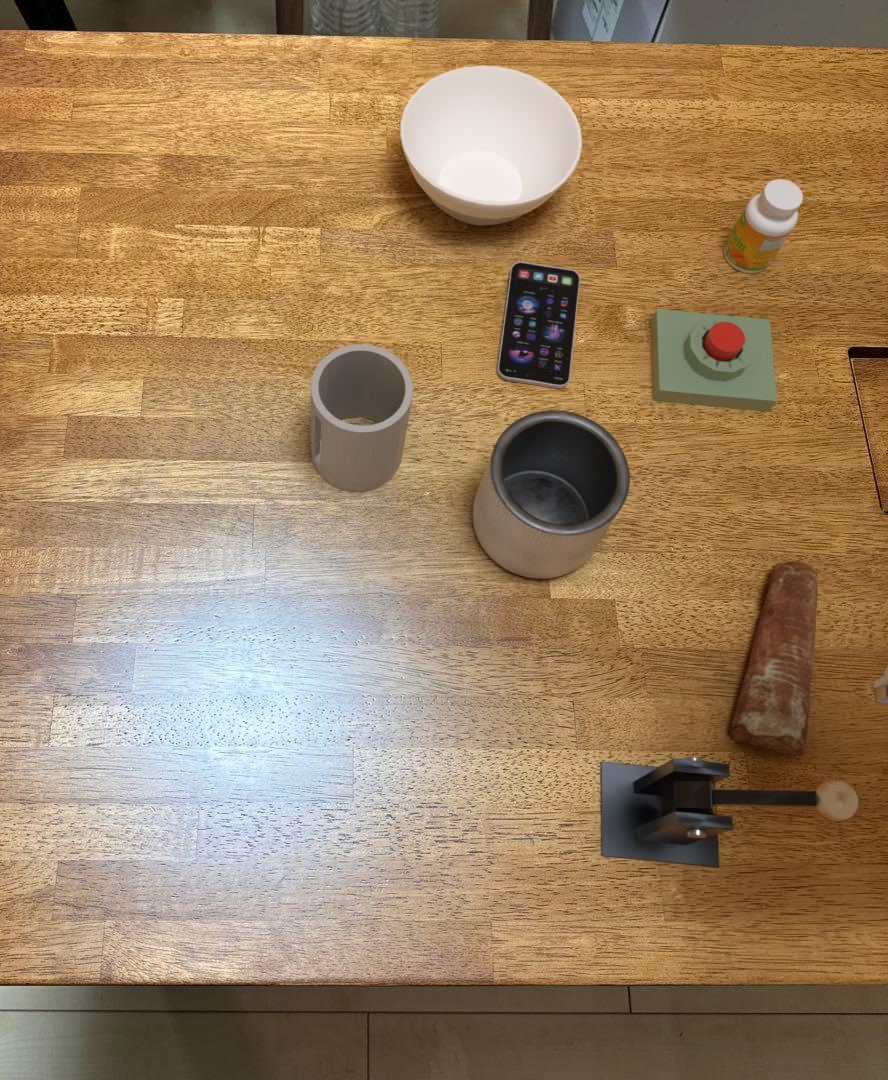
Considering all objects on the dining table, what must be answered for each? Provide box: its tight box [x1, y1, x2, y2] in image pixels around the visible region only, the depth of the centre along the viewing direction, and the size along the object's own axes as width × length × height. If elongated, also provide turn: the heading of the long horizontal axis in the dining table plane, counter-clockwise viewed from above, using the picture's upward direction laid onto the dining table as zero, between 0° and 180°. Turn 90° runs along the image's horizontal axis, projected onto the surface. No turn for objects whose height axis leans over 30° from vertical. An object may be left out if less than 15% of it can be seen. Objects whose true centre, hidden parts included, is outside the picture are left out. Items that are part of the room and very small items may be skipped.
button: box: [704, 322, 745, 361], centre depth 103 cm, size 4×4×2 cm
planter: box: [472, 409, 631, 580], centre depth 94 cm, size 12×13×11 cm
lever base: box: [599, 756, 734, 868], centre depth 83 cm, size 10×8×12 cm
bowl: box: [399, 65, 583, 227], centre depth 112 cm, size 19×19×8 cm
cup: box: [310, 343, 414, 493], centre depth 96 cm, size 9×9×12 cm
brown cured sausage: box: [729, 560, 819, 757], centre depth 92 cm, size 6×19×6 cm, turn 159°
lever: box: [674, 778, 859, 822], centre depth 78 cm, size 13×3×3 cm, turn 85°
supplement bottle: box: [723, 178, 804, 274], centre depth 109 cm, size 5×5×10 cm
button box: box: [649, 308, 778, 413], centre depth 105 cm, size 12×10×4 cm
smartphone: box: [496, 261, 581, 389], centre depth 108 cm, size 8×1×15 cm
